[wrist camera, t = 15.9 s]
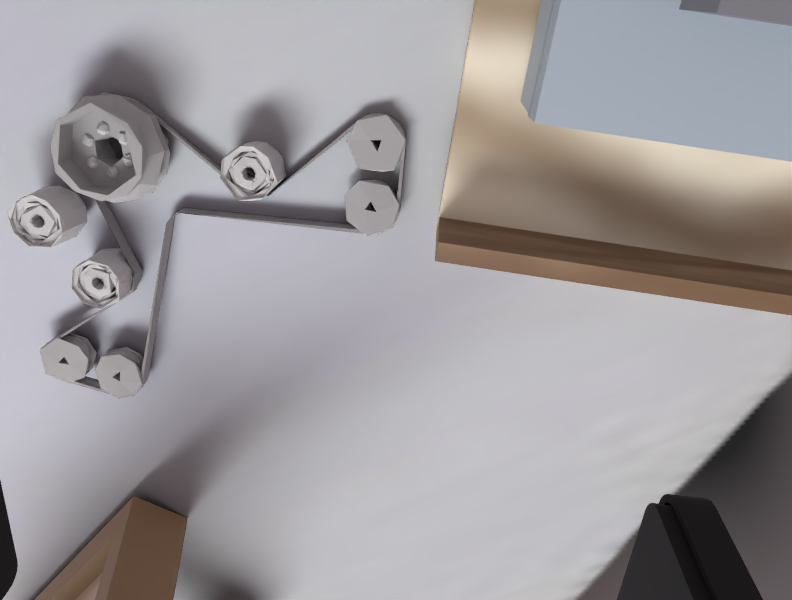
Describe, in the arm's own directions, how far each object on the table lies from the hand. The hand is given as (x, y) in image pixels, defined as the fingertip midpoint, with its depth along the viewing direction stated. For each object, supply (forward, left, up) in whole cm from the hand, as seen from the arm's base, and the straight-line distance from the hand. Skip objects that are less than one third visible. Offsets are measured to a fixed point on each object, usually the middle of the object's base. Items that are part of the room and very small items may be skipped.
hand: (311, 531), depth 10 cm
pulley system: (+7, -13, -30) cm, 33 cm away
